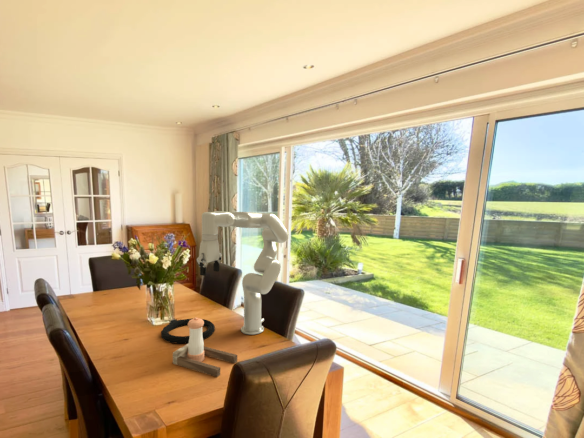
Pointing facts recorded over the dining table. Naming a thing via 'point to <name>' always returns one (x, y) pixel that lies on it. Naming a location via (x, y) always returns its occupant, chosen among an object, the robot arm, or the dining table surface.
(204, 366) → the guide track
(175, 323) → the cable lock
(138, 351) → the dining table surface
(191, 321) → the pepper shaker
